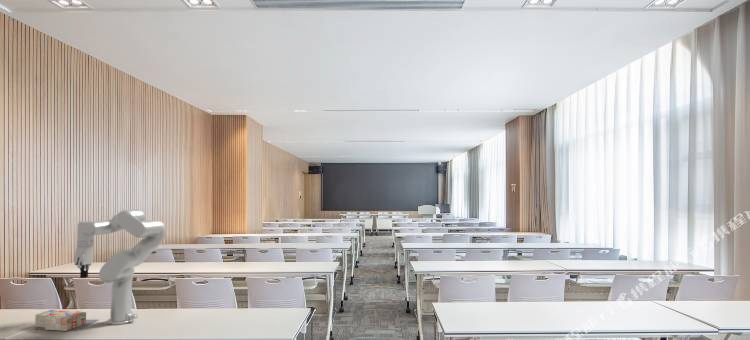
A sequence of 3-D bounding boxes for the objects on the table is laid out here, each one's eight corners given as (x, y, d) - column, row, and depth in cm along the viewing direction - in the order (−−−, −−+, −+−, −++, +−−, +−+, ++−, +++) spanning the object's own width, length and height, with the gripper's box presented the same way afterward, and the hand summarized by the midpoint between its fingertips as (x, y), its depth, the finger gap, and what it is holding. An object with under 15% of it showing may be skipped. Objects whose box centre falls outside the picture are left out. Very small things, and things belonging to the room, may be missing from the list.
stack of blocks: (50, 321, 238) (29, 328, 226) (51, 309, 239) (29, 315, 226) (86, 324, 234) (65, 331, 222) (86, 311, 235) (66, 318, 223)
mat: (98, 320, 243) (98, 319, 243) (79, 329, 227) (79, 328, 227) (56, 320, 242) (56, 319, 242) (35, 329, 226) (35, 328, 226)
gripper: (86, 242, 256) (85, 275, 255) (69, 245, 241) (68, 280, 240) (99, 242, 256) (98, 275, 255) (83, 245, 241) (82, 280, 240)
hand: (84, 277), depth 248 cm, fingers closed
